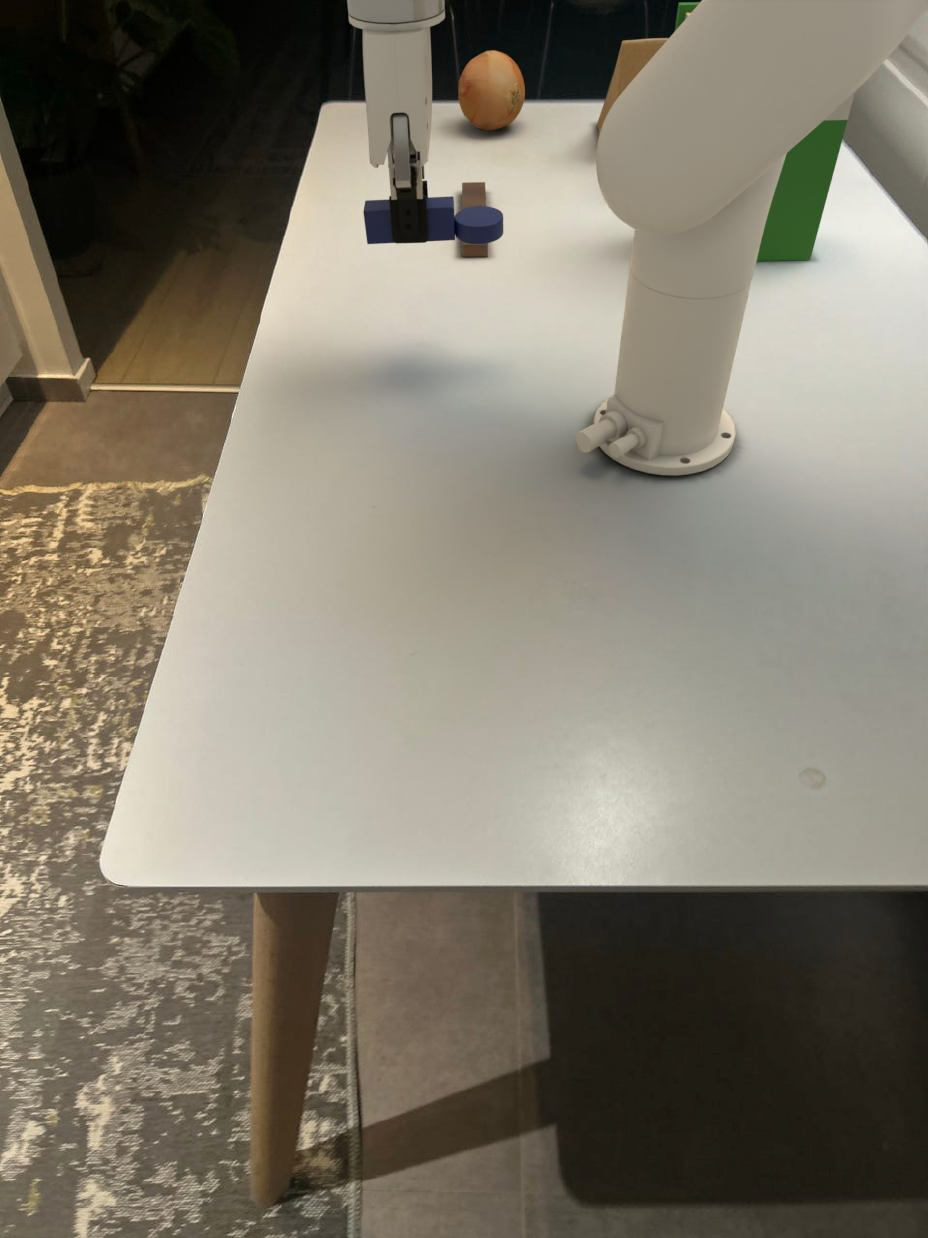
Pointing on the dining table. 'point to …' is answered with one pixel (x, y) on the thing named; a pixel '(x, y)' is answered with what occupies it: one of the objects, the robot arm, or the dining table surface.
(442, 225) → the blue block and puck
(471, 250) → the walnut strip
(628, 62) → the sandwich container
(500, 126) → the onion
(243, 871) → the dining table surface
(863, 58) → the robot arm
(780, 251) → the hardback book
